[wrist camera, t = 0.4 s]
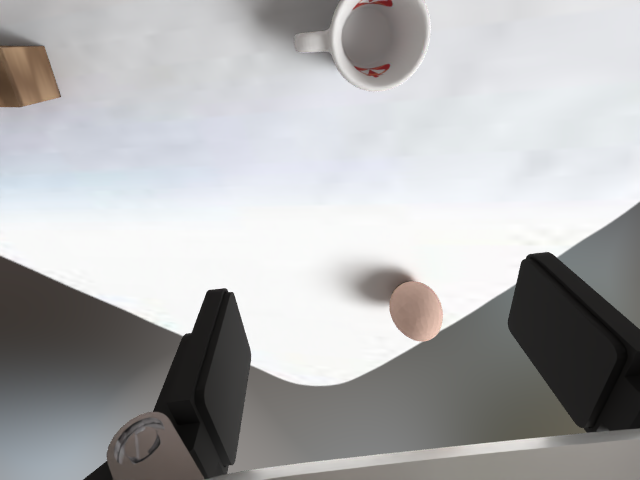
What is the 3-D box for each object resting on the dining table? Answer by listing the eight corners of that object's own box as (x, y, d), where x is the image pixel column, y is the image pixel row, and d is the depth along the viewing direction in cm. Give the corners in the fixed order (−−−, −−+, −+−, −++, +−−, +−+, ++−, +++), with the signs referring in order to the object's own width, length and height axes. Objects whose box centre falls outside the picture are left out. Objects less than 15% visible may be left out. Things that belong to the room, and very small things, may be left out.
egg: (400, 263, 48) (420, 308, 40) (439, 280, 50) (465, 326, 42) (375, 297, 51) (388, 345, 43) (412, 312, 52) (432, 361, 44)
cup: (299, 86, 36) (298, 98, 29) (290, -8, 32) (288, -20, 25) (403, 78, 36) (427, 88, 29) (407, -17, 32) (436, -31, 25)
